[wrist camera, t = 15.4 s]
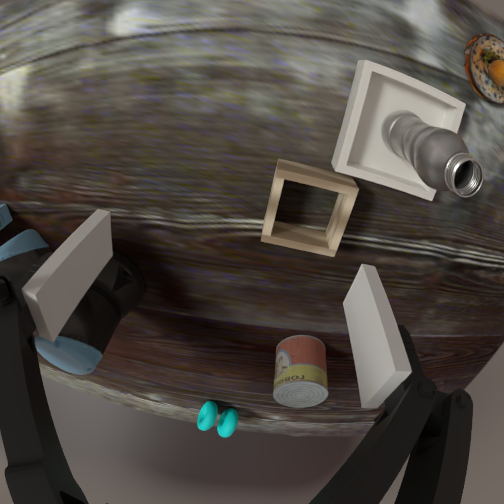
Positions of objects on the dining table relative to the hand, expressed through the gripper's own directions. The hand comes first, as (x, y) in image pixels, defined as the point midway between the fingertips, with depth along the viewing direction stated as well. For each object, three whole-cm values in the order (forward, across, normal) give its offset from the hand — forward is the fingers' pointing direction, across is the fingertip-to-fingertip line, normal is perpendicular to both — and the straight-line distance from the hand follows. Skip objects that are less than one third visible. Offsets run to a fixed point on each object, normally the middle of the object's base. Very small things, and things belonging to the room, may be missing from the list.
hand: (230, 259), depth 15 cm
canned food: (+32, -18, +43) cm, 57 cm away
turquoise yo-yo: (+33, -4, +79) cm, 85 cm away
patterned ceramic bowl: (+31, -32, -24) cm, 51 cm away
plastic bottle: (+30, -19, -7) cm, 36 cm away
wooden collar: (+31, -9, +8) cm, 33 cm away
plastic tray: (+31, -19, -7) cm, 36 cm away
